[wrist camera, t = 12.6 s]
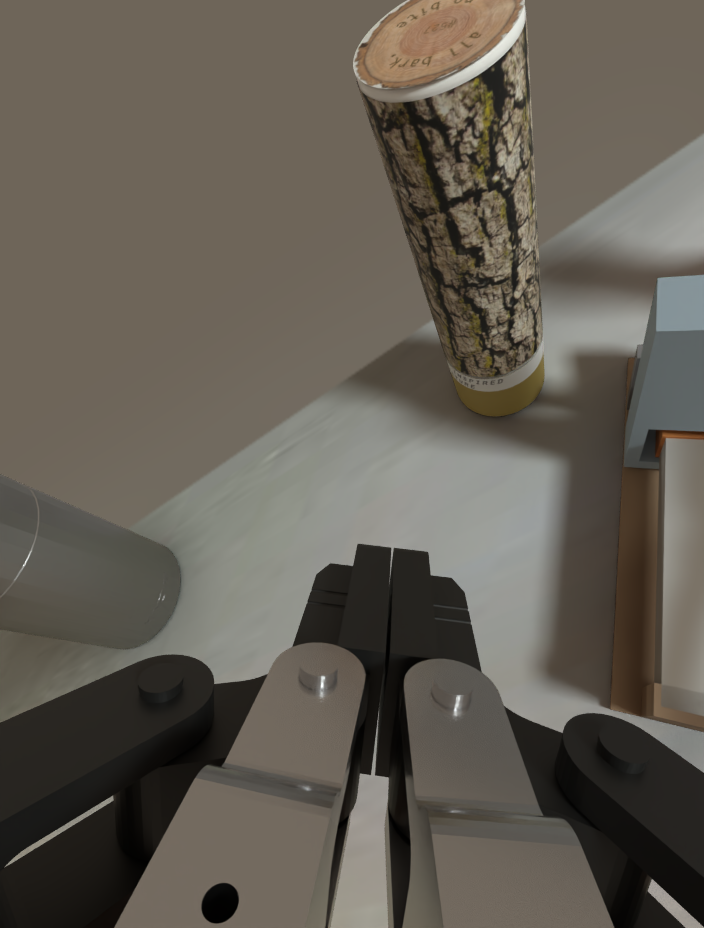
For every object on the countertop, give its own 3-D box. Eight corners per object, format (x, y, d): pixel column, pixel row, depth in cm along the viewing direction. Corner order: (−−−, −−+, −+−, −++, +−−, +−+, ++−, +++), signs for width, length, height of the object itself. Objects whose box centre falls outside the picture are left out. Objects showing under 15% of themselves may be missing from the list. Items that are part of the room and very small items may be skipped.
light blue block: (623, 466, 34) (655, 331, 22) (625, 427, 35) (657, 277, 23) (733, 474, 31) (835, 326, 20) (731, 431, 33) (828, 266, 21)
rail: (609, 709, 29) (621, 706, 23) (627, 362, 38) (639, 296, 32) (737, 740, 27) (786, 745, 21) (725, 361, 35) (757, 289, 30)
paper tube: (535, 425, 38) (502, 70, 17) (448, 415, 41) (330, 102, 20) (552, 351, 40) (542, -45, 20) (468, 346, 43) (381, -1, 23)
